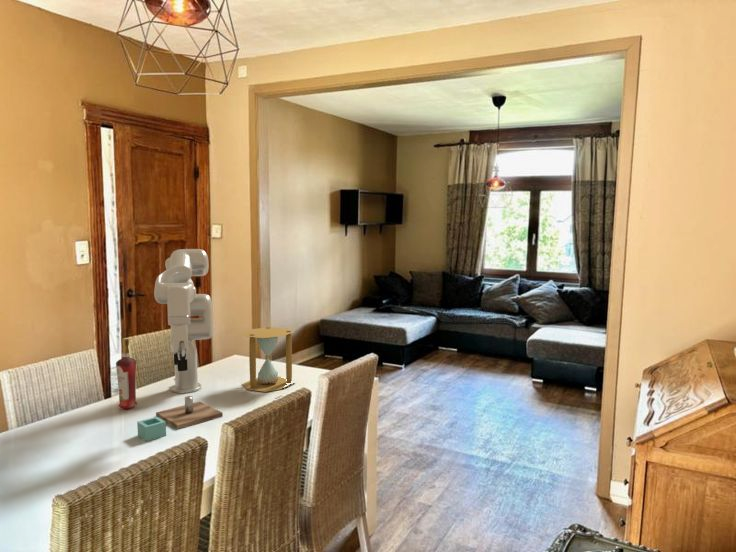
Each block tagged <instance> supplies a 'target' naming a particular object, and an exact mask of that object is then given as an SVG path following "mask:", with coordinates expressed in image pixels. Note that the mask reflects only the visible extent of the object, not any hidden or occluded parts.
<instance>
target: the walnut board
mask: <svg viewBox="0 0 736 552" xmlns="http://www.w3.org/2000/svg"><path fill="white" fill-rule="evenodd" d="M223 414H224V412H222V411H220V410H218V409H216V408H215V407H212V406H210V405H208V404H206V403H204V402H202V401H195V402H193V413H191V414H186V413H185V404H183V405H180V406H176V407H175V406H174V407H173V408H172V407H171V408H168V409H164V410H160V411H156V412H155V417H159V418H160V419H162V420H164V421H165V422H166V424H168V425H170V426H172V427H173V428H175V429H176V430H181V429H184V428H187V427H190V426H194V425H197V424H200V423H204V422H208V421H211V420H215V419H218V418H222V417H223Z"/></svg>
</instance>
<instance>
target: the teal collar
mask: <svg viewBox="0 0 736 552" xmlns="http://www.w3.org/2000/svg"><path fill="white" fill-rule="evenodd" d="M137 436H138V437H140V439H142V440H144V441H145V442H149V441H152V440H155V439H159V438H163V437H165V436H167V422H165V421H164V420H162V419H160V418H159V417H157V416H154V417H150V418H147V419H143V420H140V421H137Z"/></svg>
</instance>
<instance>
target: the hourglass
mask: <svg viewBox="0 0 736 552" xmlns="http://www.w3.org/2000/svg"><path fill="white" fill-rule="evenodd" d="M293 333H295V331H294V330H292V329H289V328H286V327H273V326H266V327H259V328H252V329H249V330H245V331H242V332H241V334H242V335H244V336H245V337H247V338H249V340H248V341H249V347H248V350H249V351H248V353H249V355H248V356H249V357H248V358H249V359H248V360H249V380H248V381H245V382H243V383H242V384H241V385H242V386H244V388H246V389H247V390H249V391H255V392H256V391H258V392H265V393H268V392H271V391H278V390H283V389H282V388H283V387H284V386H285V385H287V384H286V383H291V381H293V380H292V379H293V348H292V347H293V345H292V344H293V338H292V337H293V336H292V334H293ZM284 336H285V374H286V376H285V377H286V379H287V381H286V379H284V378H281V377H282V376H279V375H278V371H277V369H276V368H275V367H274V365H273V363H272V352H273V351H274V349H275V347H276V346H277V343H278V339H279V338H278V337H284ZM256 341H257V344H258V345H259V348H260V349H261V351H262V353H263V354H264V355H265V357H264V358H265V361H264V362H263V365H261V368H260V369H259V371H258V373H257V358H256V356H257V355H256V352H257V351H256V349H257V348H256Z"/></svg>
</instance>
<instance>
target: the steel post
mask: <svg viewBox="0 0 736 552" xmlns="http://www.w3.org/2000/svg"><path fill="white" fill-rule="evenodd" d="M193 403H194V397H193V396H192V395H187V396H185V397H184V405H185V413H186V414H191V413H193Z"/></svg>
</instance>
